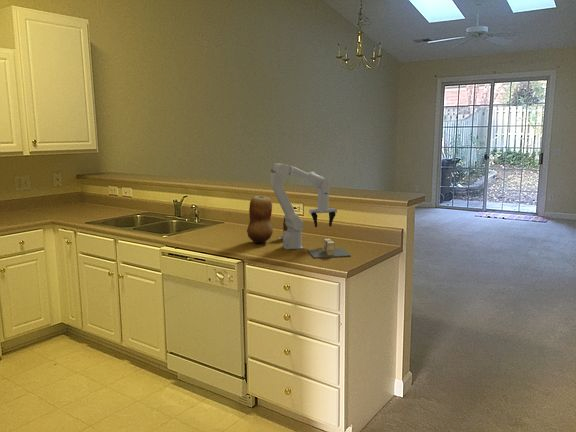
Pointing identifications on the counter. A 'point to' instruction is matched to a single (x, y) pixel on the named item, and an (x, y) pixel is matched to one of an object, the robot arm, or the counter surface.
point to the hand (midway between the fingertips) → (323, 226)
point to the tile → (329, 246)
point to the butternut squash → (260, 219)
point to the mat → (322, 254)
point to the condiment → (284, 228)
